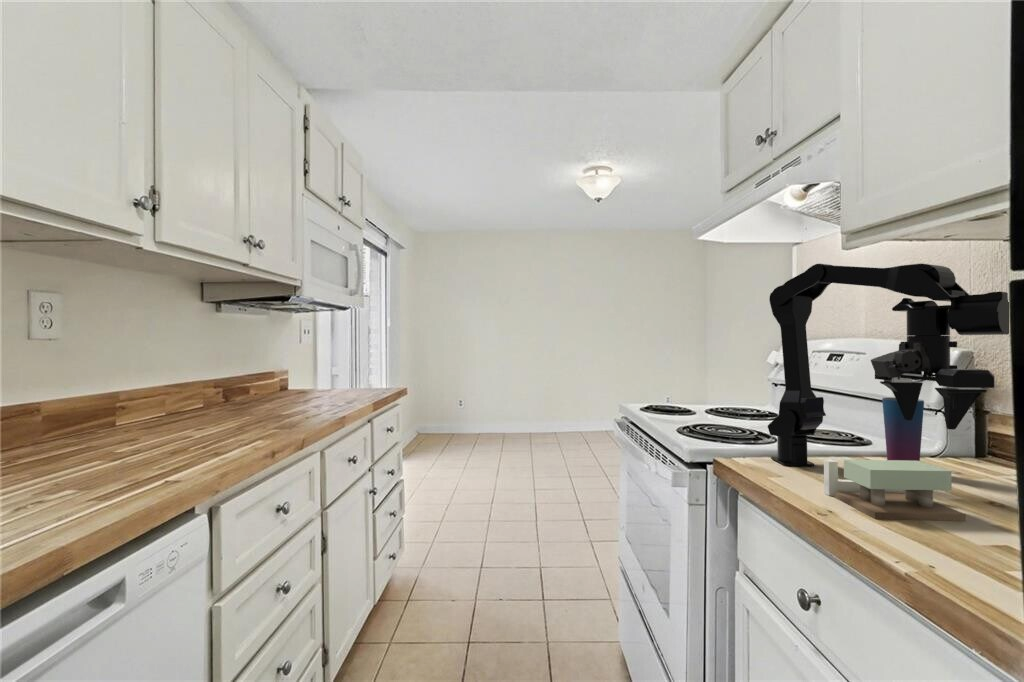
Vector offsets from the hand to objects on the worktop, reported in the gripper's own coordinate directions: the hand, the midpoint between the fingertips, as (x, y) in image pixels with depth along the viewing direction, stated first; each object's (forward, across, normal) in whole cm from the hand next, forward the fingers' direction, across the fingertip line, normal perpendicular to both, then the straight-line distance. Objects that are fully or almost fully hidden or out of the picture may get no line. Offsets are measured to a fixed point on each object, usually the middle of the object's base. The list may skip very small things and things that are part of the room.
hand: (928, 424), depth 83 cm
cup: (+13, -17, +8) cm, 23 cm away
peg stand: (+12, +7, -10) cm, 18 cm away
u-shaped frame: (+12, 0, -10) cm, 16 cm away
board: (+8, +7, -10) cm, 15 cm away
